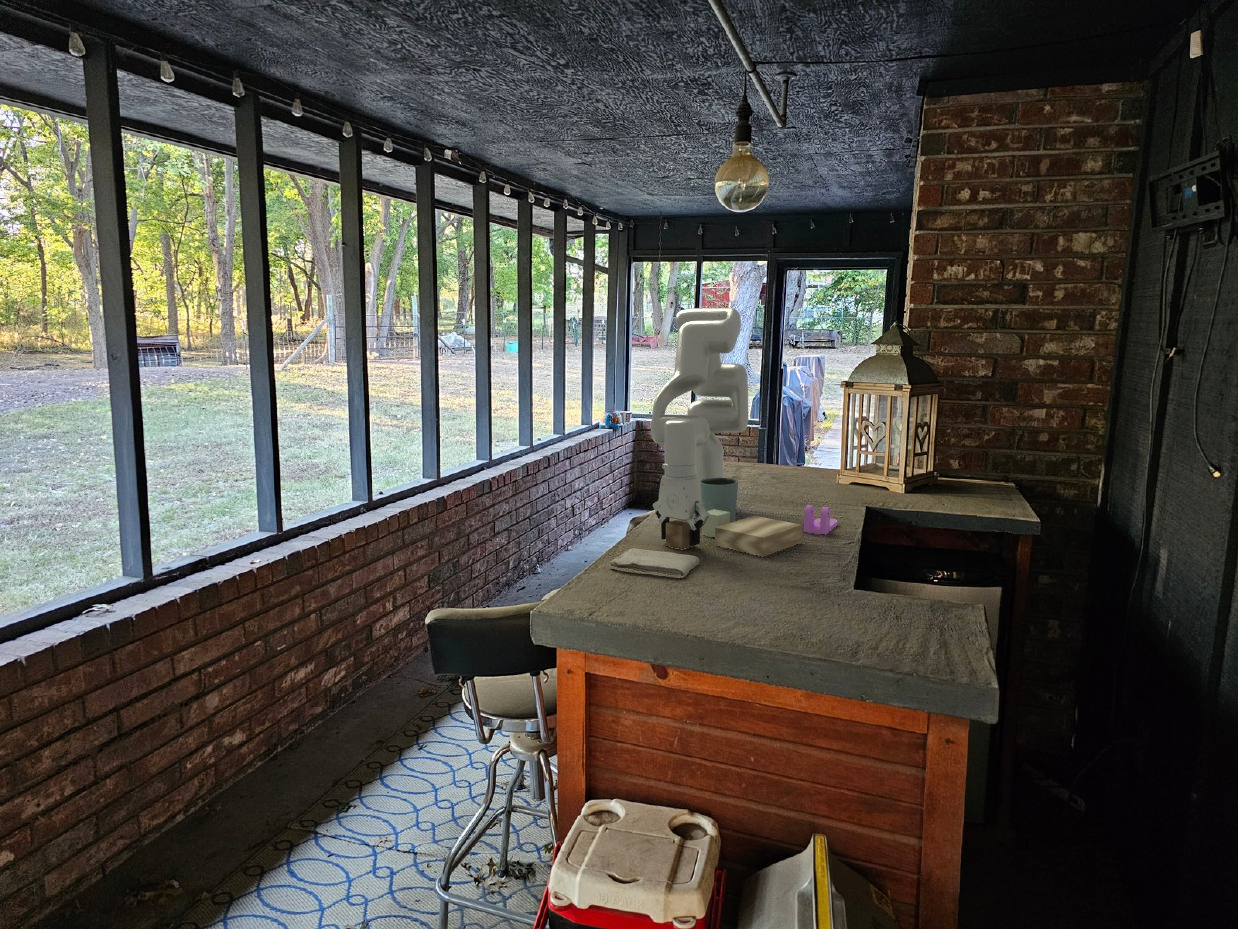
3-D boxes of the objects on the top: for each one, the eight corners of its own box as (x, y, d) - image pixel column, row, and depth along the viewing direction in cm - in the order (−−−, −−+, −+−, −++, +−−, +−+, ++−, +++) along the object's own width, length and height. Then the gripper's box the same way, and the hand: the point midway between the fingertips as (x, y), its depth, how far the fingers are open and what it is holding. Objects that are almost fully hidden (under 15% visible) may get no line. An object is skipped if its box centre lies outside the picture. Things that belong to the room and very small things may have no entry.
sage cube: (702, 535, 198) (702, 512, 197) (714, 531, 201) (714, 509, 200) (717, 539, 195) (717, 515, 193) (729, 535, 198) (729, 512, 197)
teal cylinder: (742, 521, 211) (742, 478, 209) (731, 530, 202) (731, 485, 200) (706, 518, 215) (706, 476, 213) (694, 527, 206) (694, 483, 204)
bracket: (825, 535, 196) (826, 508, 195) (803, 533, 199) (804, 506, 198) (839, 524, 207) (840, 498, 206) (819, 522, 210) (819, 496, 209)
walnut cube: (665, 546, 188) (665, 522, 187) (679, 542, 192) (679, 519, 191) (681, 550, 185) (681, 526, 184) (694, 546, 188) (694, 522, 187)
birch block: (715, 547, 188) (715, 527, 188) (754, 534, 199) (754, 515, 199) (763, 558, 179) (763, 537, 178) (801, 544, 190) (801, 524, 189)
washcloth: (627, 557, 181) (627, 544, 181) (701, 565, 174) (701, 552, 174) (606, 572, 171) (606, 559, 170) (684, 581, 164) (684, 567, 163)
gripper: (642, 468, 188) (643, 538, 191) (698, 477, 176) (698, 551, 179) (663, 464, 194) (663, 532, 197) (719, 473, 182) (718, 545, 185)
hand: (680, 541), depth 188 cm, fingers open, 8 cm apart
